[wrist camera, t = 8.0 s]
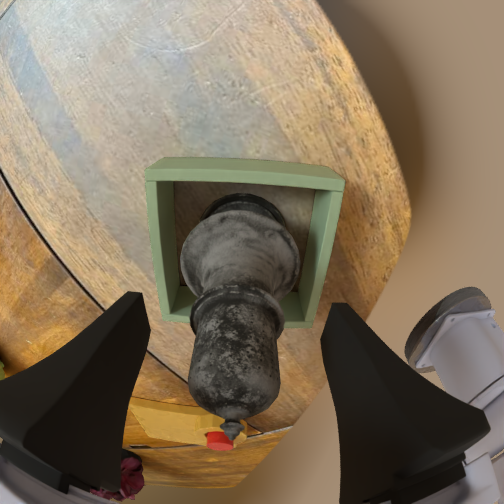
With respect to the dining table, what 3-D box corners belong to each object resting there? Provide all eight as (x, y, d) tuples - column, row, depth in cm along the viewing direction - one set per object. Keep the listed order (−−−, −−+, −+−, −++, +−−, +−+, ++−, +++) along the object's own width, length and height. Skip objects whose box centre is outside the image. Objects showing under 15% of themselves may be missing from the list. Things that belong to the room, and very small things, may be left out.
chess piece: (302, 198, 15) (388, 387, 5) (278, 282, 18) (300, 465, 8) (199, 180, 15) (97, 357, 4) (189, 268, 17) (138, 449, 7)
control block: (248, 406, 26) (248, 429, 24) (243, 440, 32) (243, 458, 30) (126, 391, 26) (120, 412, 23) (149, 430, 32) (146, 446, 29)
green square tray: (328, 166, 14) (346, 180, 12) (304, 298, 19) (311, 328, 16) (163, 157, 14) (143, 168, 11) (172, 291, 18) (162, 321, 16)
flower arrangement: (56, 436, 45) (43, 477, 32) (19, 401, 36) (-1, 449, 23) (157, 468, 46) (150, 518, 33) (132, 443, 37) (119, 510, 24)
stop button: (234, 430, 25) (233, 443, 23) (233, 438, 26) (233, 451, 25) (206, 428, 25) (205, 441, 23) (208, 437, 26) (207, 449, 25)
